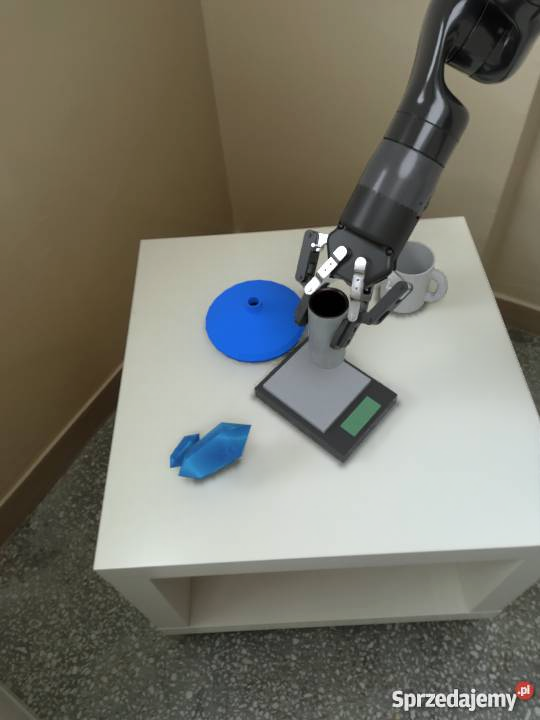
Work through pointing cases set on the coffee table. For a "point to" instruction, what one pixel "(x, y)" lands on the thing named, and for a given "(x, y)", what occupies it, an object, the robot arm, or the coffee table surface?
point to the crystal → (210, 450)
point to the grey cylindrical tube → (326, 325)
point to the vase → (254, 321)
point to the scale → (326, 400)
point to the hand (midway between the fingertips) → (317, 335)
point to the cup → (418, 277)
